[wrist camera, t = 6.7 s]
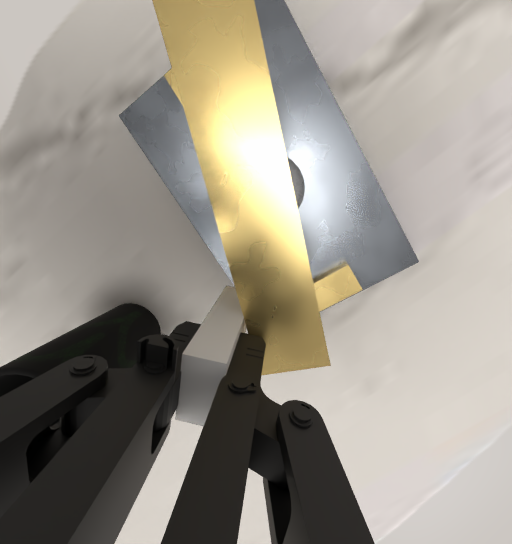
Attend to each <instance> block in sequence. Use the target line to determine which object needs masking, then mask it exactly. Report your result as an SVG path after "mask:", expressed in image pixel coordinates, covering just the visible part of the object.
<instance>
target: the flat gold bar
mask: <svg viewBox="0 0 512 544" xmlns="http://www.w3.org/2000/svg"><path fill="white" fill-rule="evenodd" d="M152 1H153V4H154V7H155V11H156V14H157V18H158V21H159V25H160V28H161V32H162V35H163V39H164V42H165V46H166V49H167V53H168V56H169V60H170V63H171V67H172V70H173V73H174V77H175V80H176V84H177V87H178V91H179V94H180V98H181V101H182V105H183V108H184V112H185V115H186V119H187V122H188V126H189V129H190V133H191V136H192V139H193V143H194V146H195V150H196V153H197V157H198V160H199V164H200V167H201V171H202V174H203V178H204V181H205V185H206V188H207V192H208V195H209V199H210V202H211V206H212V209H213V212H214V216H215V219H216V223H217V226H218V230H219V233H220V237H221V240H222V244H223V247H224V251H225V254H226V258H227V261H228V265H229V268H230V272H231V275H232V278H233V282H234V285H235V289H236V292H237V296H238V299H239V303H240V306H241V310H242V313H243V316H244V320H245V324H246V327H247V331H248V334H251V335H255V336H260V337H263V339H264V341H265V343H266V348H265V354H264V361H263V367H262V374H261V375H267V374H274V373H281V372H288V371H295V370H302V369H310V368H317V367H324V366H331V365H330V360H329V356H328V351H327V346H326V341H325V337H324V332H323V327H322V322H321V317H320V313H319V308H318V303H317V298H316V294H315V289H314V284H313V279H312V274H311V270H310V265H309V260H308V255H307V251H306V246H305V241H304V236H303V231H302V227H301V222H300V217H299V212H298V208H297V203H296V198H295V193H294V188H293V184H292V179H291V174H290V169H289V165H288V160H287V155H286V150H285V145H284V141H283V136H282V131H281V126H280V122H279V117H278V112H277V107H276V102H275V98H274V93H273V88H272V83H271V79H270V74H269V69H268V64H267V59H266V55H265V50H264V45H263V40H262V36H261V31H260V26H259V21H258V16H257V12H256V7H255V2H254V0H152Z"/></svg>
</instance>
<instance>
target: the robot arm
mask: <svg viewBox="0 0 512 544" xmlns="http://www.w3.org/2000/svg"><path fill="white" fill-rule="evenodd" d="M245 332H246V324H245V320H244V316H243V313H242V310H241V306H240V303H239V299H238V296H237V292H236V289H235V287H231V286H226V287H225V289H224V290H223V292H222V293H221V295H220V296H219V298H218V300H217V301H216V303H215V304H214V306H213V307H212V309H211V310H210V312H209V313H208V315H207V317H206V318H205V320H204V321H203V323H202V324H196V323H192V322H187V321H186V322H184V323H182V324H180V325H178V326H177V327H176V328H175V329H174V330H173V332H172V333H171V334H170V335H169V336H167V335H160V334H156V335H149V336H146V337H143V338H141V339H140V340H138V341H137V359H136V364H135V365H134V366H133V367H132V368H108V364H107V360H105V359H104V358H103V357H101V356H97V355H83V356H78V357H75V358H72V359H70V360H68V361H66V362H64V363H62V364H60V365H58V366H56V367H55V368H53V369H51V370H49V371H47V372H45V373H44V374H42V375H40V376H38V377H36V378H34V379H33V380H31V381H29V382H27V383H25V384H23V385H22V386H20V387H18V388H16V389H14V390H12V391H11V392H9V393H7V394H5V395H3V396H1V397H0V544H114V543H115V541H116V539H117V537H118V535H119V533H120V531H121V529H122V527H123V525H124V523H125V521H126V519H127V516H128V514H129V512H130V510H131V508H132V506H133V504H134V502H135V500H136V498H137V496H138V494H139V492H140V490H141V488H142V486H143V484H144V482H145V480H146V478H147V476H148V474H149V472H150V470H151V468H152V466H153V464H154V462H155V460H156V458H157V456H158V454H159V451H160V449H161V447H162V445H163V443H164V441H165V439H166V437H167V435H168V433H169V430H170V424H171V418H172V416H173V414H174V412H175V410H176V417H175V420H179V421H184V422H188V423H192V424H196V425H200V426H204V427H203V429H202V432H201V435H200V438H199V440H198V443H197V446H196V449H195V451H194V454H193V457H192V460H191V462H190V465H189V468H188V471H187V473H186V476H185V479H184V482H183V484H182V487H181V490H180V493H179V495H178V498H177V501H176V504H175V506H174V509H173V512H172V515H171V517H170V520H169V523H168V526H167V528H166V531H165V534H164V537H163V539H162V542H161V544H237V539H238V533H239V526H240V519H241V513H242V506H243V500H244V493H245V486H246V480H247V473H248V468H250V469H251V470H253V471H255V472H256V473H258V474H259V475H261V476H262V477H263V484H264V491H265V499H266V506H267V513H268V521H269V528H270V535H271V542H272V544H375V543H374V541H373V539H372V536H371V534H370V531H369V529H368V527H367V524H366V522H365V519H364V517H363V515H362V512H361V510H360V507H359V505H358V503H357V500H356V498H355V495H354V493H353V491H352V488H351V486H350V483H349V481H348V479H347V476H346V474H345V471H344V469H343V467H342V464H341V462H340V459H339V457H338V455H337V452H336V450H335V447H334V445H333V443H332V440H331V438H330V435H329V433H328V431H327V428H326V426H325V423H324V421H323V419H322V417H321V415H320V414H319V412H318V411H317V410H316V409H315V408H314V407H312V406H311V405H309V404H307V403H305V402H303V401H298V400H292V401H287V402H285V403H284V404H282V406H281V405H279V404H277V403H275V402H274V401H272V400H270V399H269V398H268V397H267V396H266V395H265V394H264V393H263V391H262V389H261V386H260V381H261V374H262V367H263V361H264V354H265V348H266V343H265V341H264V339H263V337H260V336H255V335H251V334H246V333H245ZM59 418H60V421H59V422H58V423H56V424H55V425H53V426H51V427H49V425H51V424H52V423H53V422H55V421H56V420H58V419H59Z"/></svg>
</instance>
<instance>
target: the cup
mask: <svg viewBox="0 0 512 544" xmlns="http://www.w3.org/2000/svg"><path fill="white" fill-rule="evenodd" d="M156 334H160V326H159V324H158V321H157V319H156V318H155V316H154V315H153V314H152V313H151V312H150V311H149V310H147V309H146V308H144V307H142V306H140V305H137V304H123V305H120V306H118V307H116V308H114V309H112V310H110V311H108V312H106V313H104V314H102V315H100V316H98V317H96V318H95V319H93V320H91V321H89V322H87V323H85V324H83V325H81V326H79V327H77V328H75V329H73V330H71V331H69V332H67V333H66V334H64V335H62V336H60V337H58V338H56V339H54V340H52V341H50V342H48V343H46V344H44V345H42V346H40V347H38V348H37V349H35V350H33V351H31V352H29V353H27V354H25V355H23V356H21V357H19V358H17V359H15V360H13V361H11V362H9V363H8V364H6V365H4V366H2V367H0V397H1V396H3V395H5V394H7V393H9V392H11V391H12V390H14V389H16V388H18V387H20V386H22V385H23V384H25V383H27V382H29V381H31V380H33V379H34V378H36V377H38V376H40V375H42V374H44V373H45V372H47V371H49V370H51V369H53V368H55V367H56V366H58V365H60V364H62V363H64V362H66V361H68V360H70V359H72V358H75V357H78V356H83V355H97V356H101V357H103V358H104V359H105V360H107V364H108V368H132V367H133V366H134V365H135V364H136V359H137V341H138V340H140V339H141V338H143V337H146V336H149V335H156ZM59 421H60V418H59V419H58V420H56V421H55V422H53V423H52V424H51V425H49V427H51V426H53V425H55V424H56V423H58V422H59Z"/></svg>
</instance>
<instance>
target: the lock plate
mask: <svg viewBox="0 0 512 544" xmlns="http://www.w3.org/2000/svg"><path fill="white" fill-rule="evenodd" d="M254 2H255V7H256V12H257V16H258V21H259V26H260V31H261V36H262V40H263V45H264V50H265V55H266V59H267V64H268V69H269V74H270V79H271V83H272V88H273V93H274V98H275V102H276V107H277V112H278V117H279V122H280V126H281V131H282V136H283V141H284V145H285V150H286V155H287V160H288V165H289V169H290V174H291V179H292V184H293V188H294V193H295V198H296V203H297V208H298V212H299V217H300V222H301V227H302V231H303V236H304V241H305V246H306V251H307V255H308V260H309V265H310V270H311V274H312V279H313V284H314V289H315V294H316V298H317V303H318V308H319V312H321V311H323V310H325V309H327V308H329V307H331V306H333V305H335V304H337V303H339V302H341V301H343V300H345V299H347V298H349V297H351V296H353V295H355V294H357V293H358V292H360V291H362V290H364V289H366V288H368V287H370V286H372V285H374V284H376V283H378V282H380V281H382V280H384V279H386V278H388V277H390V276H392V275H394V274H396V273H398V272H400V271H402V270H404V269H406V268H408V267H410V266H412V265H414V264H416V263H418V262H419V261H418V259H417V257H416V255H415V253H414V251H413V249H412V247H411V245H410V243H409V241H408V239H407V238H406V236H405V234H404V232H403V230H402V228H401V226H400V224H399V222H398V220H397V218H396V216H395V214H394V212H393V210H392V208H391V207H390V205H389V203H388V201H387V199H386V197H385V195H384V193H383V191H382V189H381V187H380V185H379V183H378V181H377V179H376V177H375V176H374V174H373V172H372V170H371V168H370V166H369V164H368V162H367V160H366V158H365V156H364V154H363V152H362V150H361V148H360V146H359V145H358V143H357V141H356V139H355V137H354V135H353V133H352V131H351V129H350V127H349V125H348V123H347V121H346V119H345V117H344V115H343V114H342V112H341V110H340V108H339V106H338V104H337V102H336V100H335V98H334V96H333V94H332V92H331V90H330V88H329V86H328V84H327V83H326V81H325V79H324V77H323V75H322V73H321V71H320V69H319V67H318V65H317V63H316V61H315V59H314V57H313V55H312V54H311V52H310V50H309V48H308V46H307V44H306V42H305V40H304V38H303V36H302V34H301V32H300V30H299V28H298V26H297V24H296V23H295V21H294V19H293V17H292V15H291V13H290V11H289V9H288V7H287V5H286V3H285V1H284V0H254ZM119 117H120V118H121V120H122V121H123V123H124V124H125V126H126V127H127V128H128V130H129V131H130V133H131V134H132V136H133V137H134V139H135V140H136V142H137V143H138V145H139V146H140V148H141V149H142V151H143V152H144V154H145V155H146V157H147V158H148V160H149V161H150V162H151V164H152V165H153V167H154V168H155V170H156V171H157V173H158V174H159V176H160V177H161V179H162V180H163V182H164V183H165V185H166V186H167V188H168V189H169V191H170V192H171V193H172V195H173V196H174V198H175V199H176V201H177V202H178V204H179V205H180V207H181V208H182V210H183V211H184V213H185V214H186V216H187V217H188V219H189V220H190V222H191V223H192V224H193V226H194V227H195V229H196V230H197V232H198V233H199V235H200V236H201V238H202V239H203V241H204V242H205V244H206V245H207V247H208V248H209V250H210V251H211V253H212V254H213V256H214V257H215V258H216V260H217V261H218V263H219V264H220V266H221V267H222V269H223V270H224V272H225V273H226V275H227V276H228V278H229V279H230V281H231V282H232V284H233V285H234V282H233V278H232V275H231V272H230V268H229V265H228V261H227V258H226V254H225V251H224V247H223V244H222V240H221V237H220V233H219V230H218V226H217V223H216V219H215V216H214V212H213V209H212V206H211V202H210V199H209V195H208V192H207V188H206V185H205V181H204V178H203V174H202V171H201V167H200V164H199V160H198V157H197V153H196V150H195V146H194V143H193V139H192V136H191V133H190V129H189V126H188V122H187V119H186V115H185V112H184V108H183V105H182V101H181V98H180V94H179V91H178V87H177V84H176V80H175V77H174V73H173V70H172V69H170V70H169V71H168V72H167V73H166V74H165V75H164V76H163V77H162V78H161V79H160V80H158V81H157V82H156V83H155V84H154V85H153V86H152V87H151V88H149V89H148V90H147V91H146V92H145V93H144V94H143V95H141V96H140V97H139V98H138V99H137V100H136V101H135V102H134V103H132V104H131V105H130V106H129V107H128V108H127V109H126V110H125V111H123V112H122V113H121V114H120V115H119ZM234 287H235V285H234Z"/></svg>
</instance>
